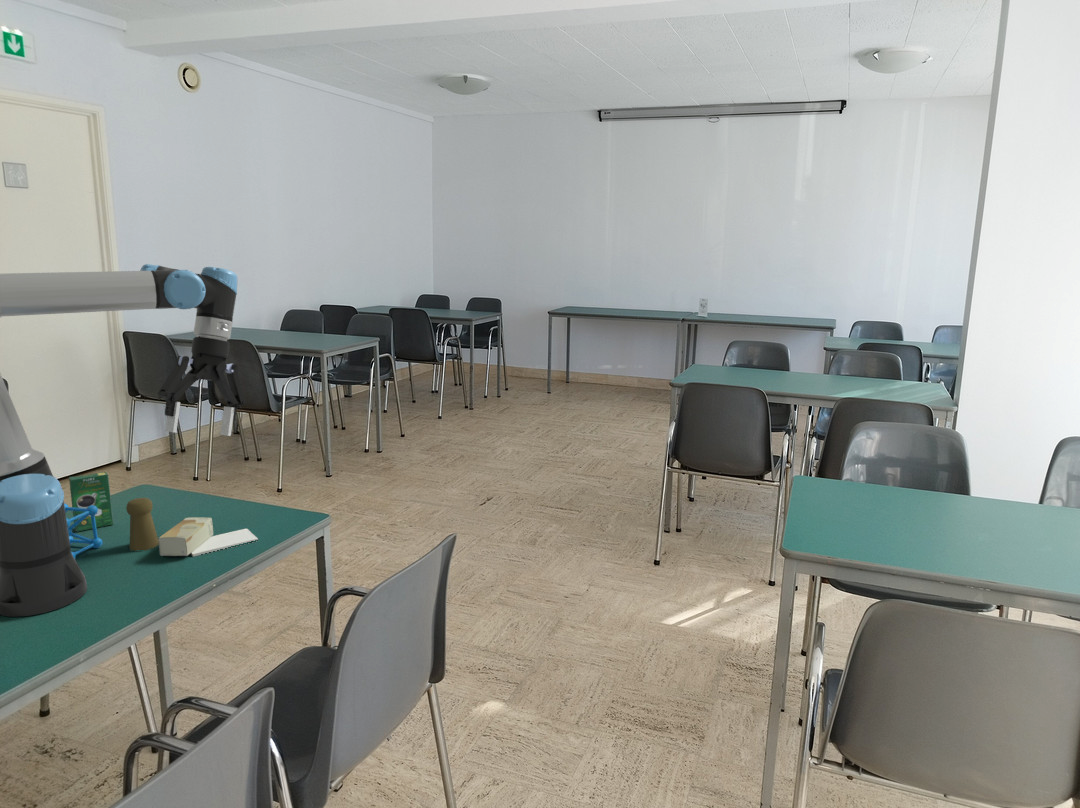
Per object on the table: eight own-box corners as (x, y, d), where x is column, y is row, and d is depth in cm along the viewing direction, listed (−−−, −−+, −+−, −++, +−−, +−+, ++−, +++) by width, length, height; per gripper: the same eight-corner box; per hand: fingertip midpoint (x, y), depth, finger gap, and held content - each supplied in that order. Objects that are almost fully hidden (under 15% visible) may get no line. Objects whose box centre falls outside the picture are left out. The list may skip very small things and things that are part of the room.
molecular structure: (70, 564, 161) (63, 520, 159) (30, 560, 163) (23, 517, 161) (105, 546, 171) (99, 504, 169) (67, 542, 173) (61, 501, 171)
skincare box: (212, 517, 174) (186, 537, 162) (214, 534, 175) (188, 556, 163) (184, 517, 175) (157, 537, 163) (186, 534, 175) (159, 556, 164)
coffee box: (112, 521, 186) (105, 470, 183) (115, 524, 183) (108, 473, 181) (74, 529, 181) (67, 476, 178) (76, 532, 179) (69, 479, 176)
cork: (123, 549, 169) (116, 502, 167) (144, 539, 175) (138, 493, 172) (144, 552, 167) (138, 505, 165) (165, 542, 173) (160, 496, 170)
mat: (193, 556, 165) (192, 554, 164) (183, 545, 171) (183, 542, 171) (258, 541, 173) (257, 538, 173) (247, 530, 179) (246, 528, 179)
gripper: (170, 329, 155) (156, 432, 154) (268, 347, 176) (256, 438, 176) (148, 328, 158) (134, 428, 158) (247, 346, 180) (235, 434, 179)
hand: (199, 433), depth 167 cm, fingers open, 13 cm apart
